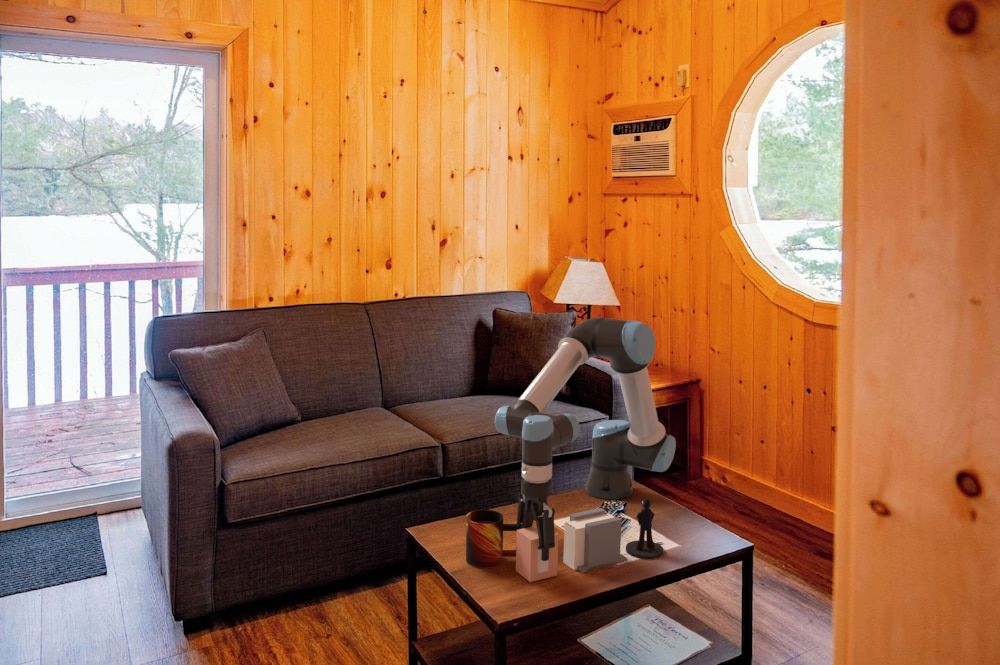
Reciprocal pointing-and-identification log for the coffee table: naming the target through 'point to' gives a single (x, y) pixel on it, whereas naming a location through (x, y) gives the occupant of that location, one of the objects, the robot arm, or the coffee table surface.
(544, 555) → the robot arm
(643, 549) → the figurine
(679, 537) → the coffee table surface
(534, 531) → the stub
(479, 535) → the mug
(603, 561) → the two-tone box
